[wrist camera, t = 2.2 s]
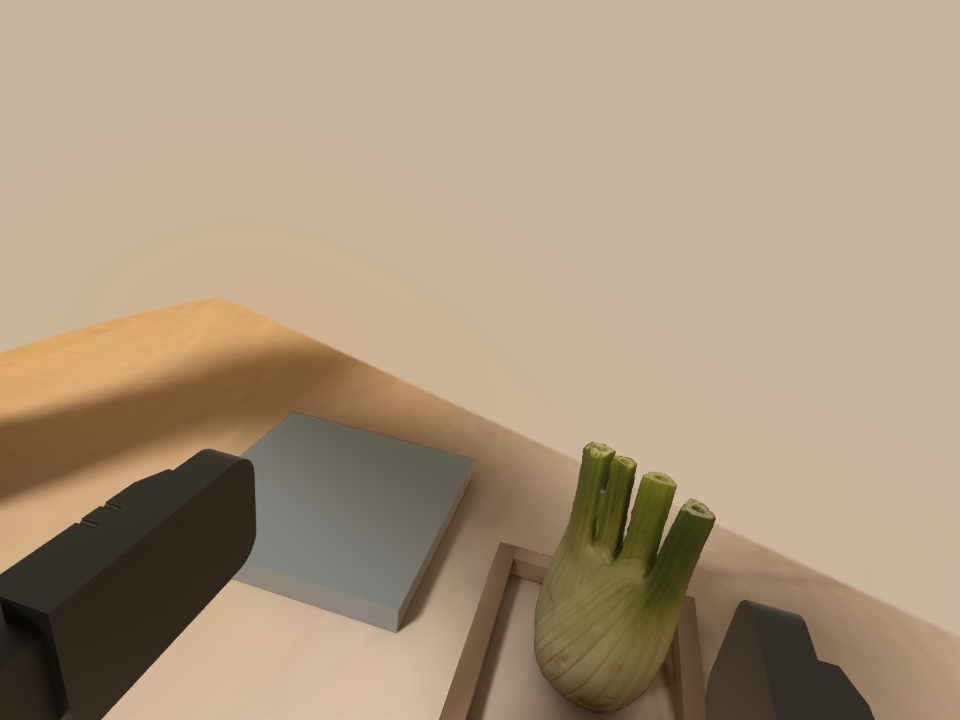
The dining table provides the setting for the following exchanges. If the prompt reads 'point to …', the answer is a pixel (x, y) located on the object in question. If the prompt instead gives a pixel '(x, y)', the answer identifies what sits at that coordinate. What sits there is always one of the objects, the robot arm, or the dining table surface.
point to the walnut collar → (535, 569)
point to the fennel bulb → (615, 583)
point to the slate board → (349, 516)
